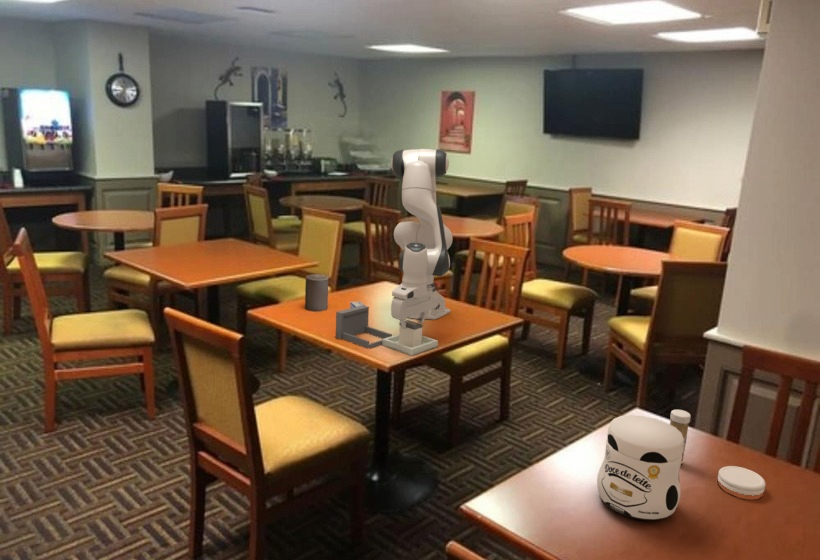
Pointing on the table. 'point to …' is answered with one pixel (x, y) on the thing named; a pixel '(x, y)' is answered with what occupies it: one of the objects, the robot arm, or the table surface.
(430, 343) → the tray
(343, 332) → the bay
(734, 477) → the white round piece
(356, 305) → the medicine box
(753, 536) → the table surface
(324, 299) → the pillar candle
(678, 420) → the sprinkles bottle
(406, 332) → the block
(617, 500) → the doce de leite jar
